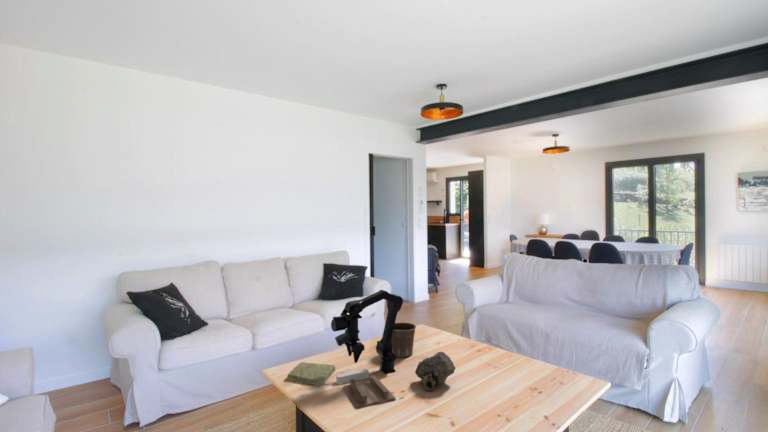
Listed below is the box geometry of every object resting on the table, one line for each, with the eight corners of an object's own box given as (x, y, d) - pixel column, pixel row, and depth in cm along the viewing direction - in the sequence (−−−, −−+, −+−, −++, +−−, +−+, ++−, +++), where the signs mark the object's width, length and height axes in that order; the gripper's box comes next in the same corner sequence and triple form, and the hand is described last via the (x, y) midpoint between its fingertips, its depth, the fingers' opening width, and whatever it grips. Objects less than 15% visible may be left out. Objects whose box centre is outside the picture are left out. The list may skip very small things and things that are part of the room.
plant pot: (390, 348, 235) (389, 321, 234) (416, 349, 232) (416, 322, 232) (386, 358, 218) (386, 330, 218) (415, 359, 216) (415, 331, 216)
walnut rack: (378, 381, 189) (378, 373, 189) (395, 399, 171) (395, 391, 171) (343, 388, 183) (343, 379, 182) (356, 408, 164) (356, 399, 164)
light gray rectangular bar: (366, 375, 197) (366, 368, 197) (368, 378, 194) (368, 370, 194) (336, 382, 189) (336, 375, 189) (338, 384, 187) (338, 377, 187)
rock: (440, 343, 193) (436, 348, 179) (460, 368, 189) (457, 375, 175) (413, 366, 195) (406, 373, 181) (431, 391, 191) (427, 400, 176)
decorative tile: (300, 367, 208) (300, 360, 208) (335, 370, 204) (335, 363, 204) (284, 382, 190) (284, 375, 190) (323, 386, 186) (322, 379, 185)
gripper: (331, 324, 197) (331, 355, 197) (342, 335, 179) (342, 369, 180) (352, 322, 201) (352, 351, 201) (364, 332, 184) (365, 365, 184)
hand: (352, 359), depth 192 cm, fingers open, 9 cm apart
